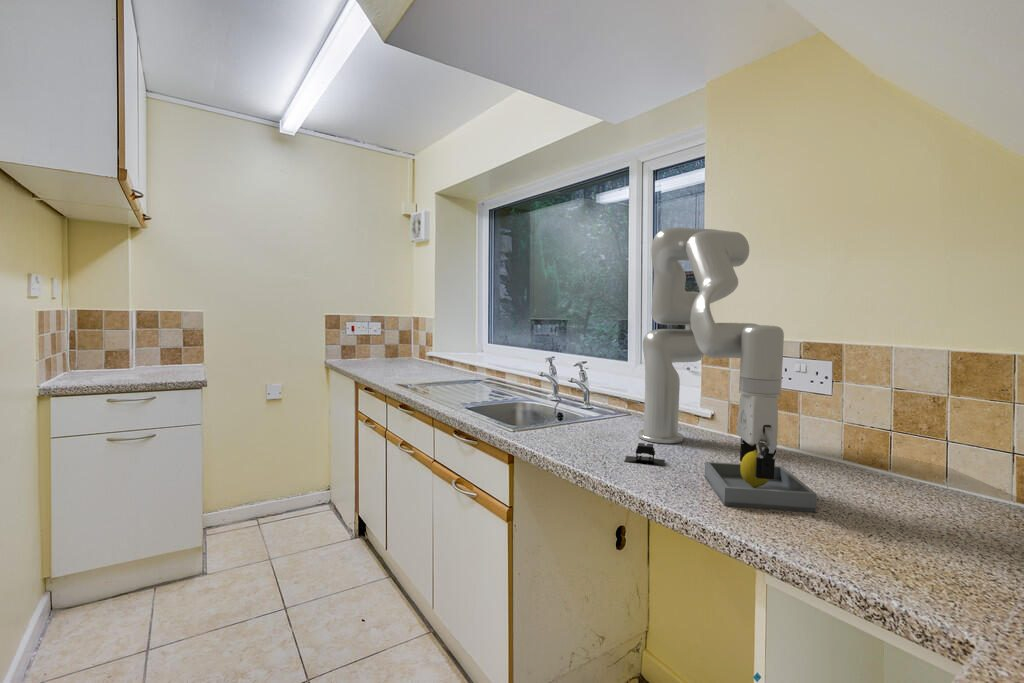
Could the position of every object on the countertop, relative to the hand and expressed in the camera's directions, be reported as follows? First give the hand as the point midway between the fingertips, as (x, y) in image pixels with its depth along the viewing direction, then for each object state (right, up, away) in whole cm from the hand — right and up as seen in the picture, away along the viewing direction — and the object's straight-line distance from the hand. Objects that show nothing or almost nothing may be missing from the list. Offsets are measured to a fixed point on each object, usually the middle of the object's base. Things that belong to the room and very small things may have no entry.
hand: (755, 469), depth 98 cm
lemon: (0, -4, +1) cm, 4 cm away
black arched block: (-17, -4, +20) cm, 27 cm away
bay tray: (0, -5, 0) cm, 5 cm away
